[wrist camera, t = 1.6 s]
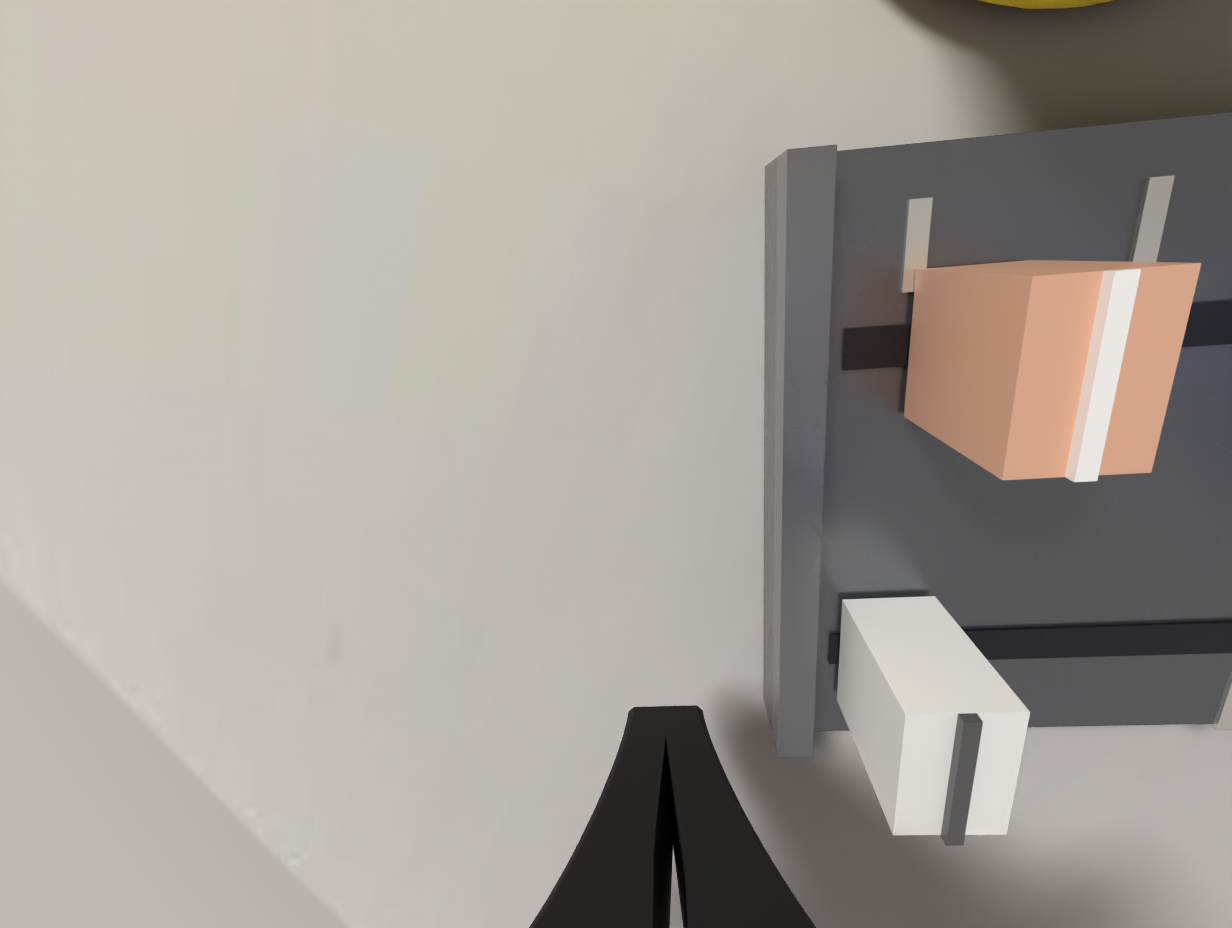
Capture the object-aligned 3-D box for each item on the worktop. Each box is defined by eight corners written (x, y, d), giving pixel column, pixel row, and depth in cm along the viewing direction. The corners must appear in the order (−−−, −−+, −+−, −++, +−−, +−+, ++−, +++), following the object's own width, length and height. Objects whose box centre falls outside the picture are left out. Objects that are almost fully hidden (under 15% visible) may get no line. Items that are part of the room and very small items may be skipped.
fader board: (1504, 93, 10) (1692, 59, 9) (1284, 688, 15) (1376, 752, 13) (765, 166, 12) (787, 149, 10) (763, 700, 16) (778, 760, 14)
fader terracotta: (1030, 260, 11) (1216, 263, 7) (1009, 410, 12) (1162, 477, 8) (916, 269, 11) (1042, 277, 7) (904, 416, 12) (1010, 485, 8)
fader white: (934, 595, 13) (1037, 721, 10) (923, 697, 14) (1012, 845, 10) (842, 599, 13) (910, 723, 10) (836, 699, 14) (897, 845, 11)
